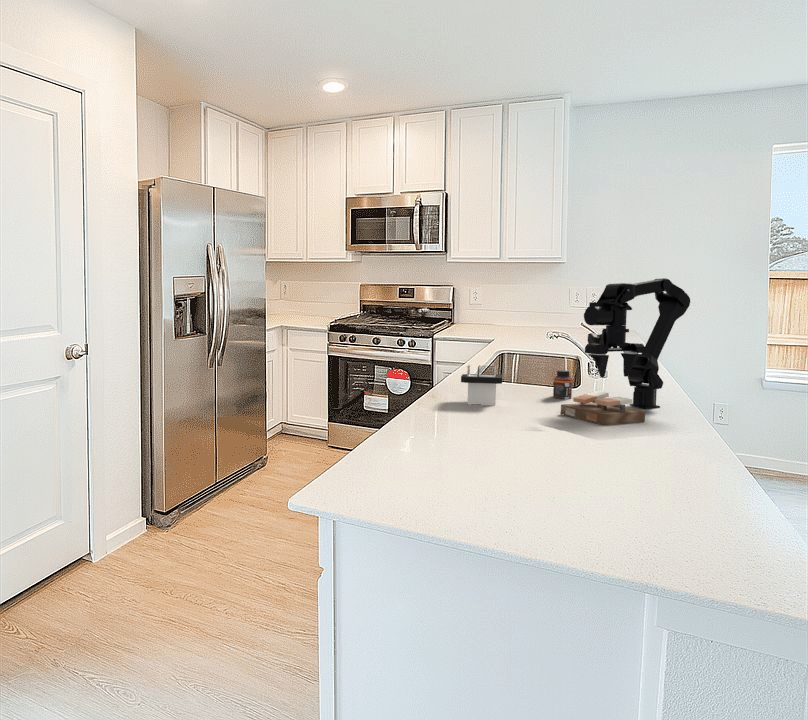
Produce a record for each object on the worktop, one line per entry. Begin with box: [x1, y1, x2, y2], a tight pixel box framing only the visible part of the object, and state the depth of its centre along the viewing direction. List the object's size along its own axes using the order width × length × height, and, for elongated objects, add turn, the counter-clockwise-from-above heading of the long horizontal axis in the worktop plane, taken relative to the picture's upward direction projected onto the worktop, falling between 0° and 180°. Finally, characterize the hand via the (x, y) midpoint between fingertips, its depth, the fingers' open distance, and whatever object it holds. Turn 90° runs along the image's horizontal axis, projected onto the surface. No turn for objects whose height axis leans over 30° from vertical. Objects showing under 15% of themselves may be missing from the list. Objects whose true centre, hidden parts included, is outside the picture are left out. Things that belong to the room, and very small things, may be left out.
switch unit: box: [560, 402, 646, 426], centre depth 171 cm, size 15×18×5 cm
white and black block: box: [460, 364, 503, 406], centre depth 189 cm, size 28×26×13 cm
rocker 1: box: [572, 390, 610, 404], centre depth 175 cm, size 9×6×2 cm, turn 114°
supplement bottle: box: [552, 369, 573, 400], centre depth 196 cm, size 6×6×11 cm
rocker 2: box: [595, 396, 633, 408], centre depth 167 cm, size 9×6×2 cm, turn 114°
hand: (614, 377), depth 178 cm, fingers open, 9 cm apart
